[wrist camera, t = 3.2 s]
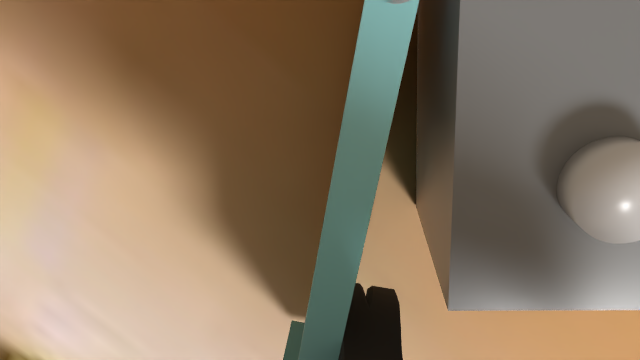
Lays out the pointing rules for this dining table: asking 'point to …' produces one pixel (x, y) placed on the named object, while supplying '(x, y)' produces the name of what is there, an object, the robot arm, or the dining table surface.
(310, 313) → the side door
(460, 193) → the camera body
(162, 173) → the dining table surface
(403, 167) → the dining table surface
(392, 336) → the robot arm
